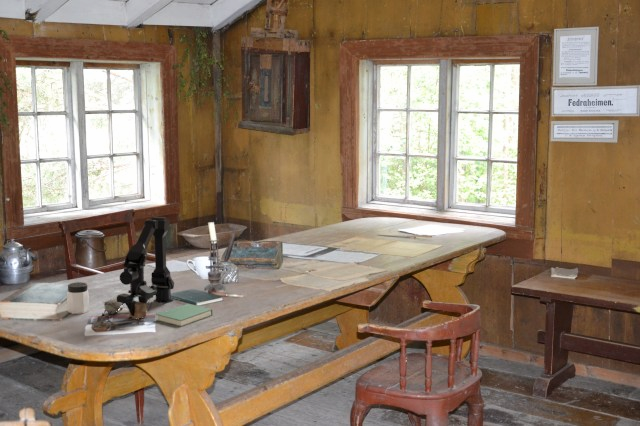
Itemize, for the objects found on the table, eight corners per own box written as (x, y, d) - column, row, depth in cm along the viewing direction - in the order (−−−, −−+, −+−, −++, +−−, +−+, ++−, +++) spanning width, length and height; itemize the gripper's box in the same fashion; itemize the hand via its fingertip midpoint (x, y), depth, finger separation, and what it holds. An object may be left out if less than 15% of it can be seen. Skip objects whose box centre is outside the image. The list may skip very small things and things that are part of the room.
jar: (92, 311, 360) (91, 285, 357) (75, 315, 354) (74, 288, 352) (81, 307, 366) (80, 281, 363) (64, 310, 360) (63, 284, 358)
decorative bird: (128, 309, 365) (127, 293, 363) (111, 319, 349) (110, 302, 348) (116, 308, 366) (116, 292, 365) (99, 318, 350) (99, 301, 349)
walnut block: (137, 314, 356) (137, 301, 355) (146, 316, 353) (145, 303, 352) (129, 317, 352) (128, 304, 351) (137, 319, 349) (137, 306, 348)
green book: (188, 310, 366) (188, 303, 365) (212, 315, 358) (212, 309, 358) (156, 320, 349) (156, 314, 349) (180, 327, 342) (180, 320, 341)
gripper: (134, 286, 337) (135, 323, 340) (166, 277, 353) (166, 312, 356) (115, 282, 343) (116, 318, 346) (147, 273, 359) (148, 307, 362)
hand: (137, 314), depth 352 cm, fingers closed on walnut block, 5 cm apart
